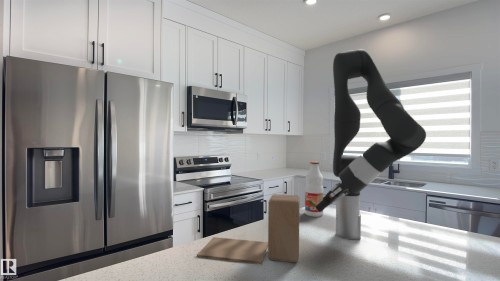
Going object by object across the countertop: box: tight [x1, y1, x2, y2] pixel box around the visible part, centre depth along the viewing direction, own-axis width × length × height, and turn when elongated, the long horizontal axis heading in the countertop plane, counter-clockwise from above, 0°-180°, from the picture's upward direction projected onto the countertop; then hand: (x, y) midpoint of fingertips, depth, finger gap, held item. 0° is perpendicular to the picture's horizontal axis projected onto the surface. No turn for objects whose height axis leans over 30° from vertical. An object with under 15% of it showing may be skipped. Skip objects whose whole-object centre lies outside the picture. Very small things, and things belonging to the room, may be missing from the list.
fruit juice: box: [304, 160, 324, 218], centre depth 138 cm, size 9×9×28 cm
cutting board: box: [196, 236, 268, 265], centre depth 93 cm, size 22×16×1 cm
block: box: [267, 194, 301, 263], centre depth 89 cm, size 10×10×20 cm
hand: (318, 209), depth 82 cm, fingers closed
